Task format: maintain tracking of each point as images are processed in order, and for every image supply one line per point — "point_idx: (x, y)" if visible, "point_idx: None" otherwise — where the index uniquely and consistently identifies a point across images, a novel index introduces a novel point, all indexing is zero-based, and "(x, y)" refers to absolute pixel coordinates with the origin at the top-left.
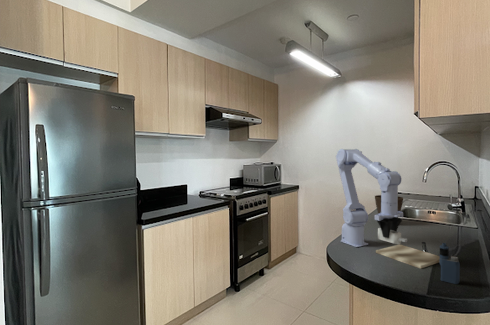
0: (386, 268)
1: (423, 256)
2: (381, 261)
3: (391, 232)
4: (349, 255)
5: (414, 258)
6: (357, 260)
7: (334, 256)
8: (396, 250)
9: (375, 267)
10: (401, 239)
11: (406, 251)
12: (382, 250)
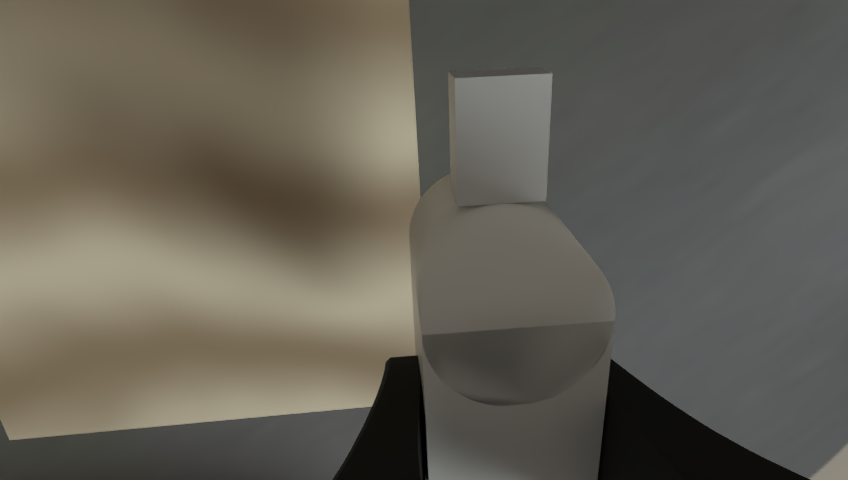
0: (726, 57)
1: (56, 63)
2: (591, 209)
3: (599, 372)
4: (705, 416)
5: (240, 67)
6: (759, 312)
7: (829, 440)
8: (219, 326)
9: (790, 124)
10: (545, 142)
11: (129, 263)
12: (369, 376)
